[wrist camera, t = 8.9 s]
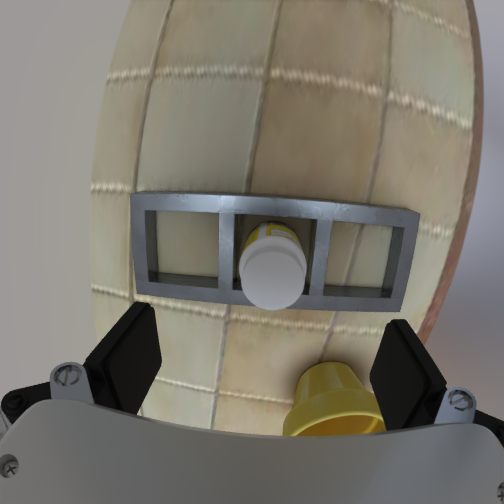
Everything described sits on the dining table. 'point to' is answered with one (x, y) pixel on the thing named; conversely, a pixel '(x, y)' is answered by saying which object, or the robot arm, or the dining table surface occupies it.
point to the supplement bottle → (272, 266)
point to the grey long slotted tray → (273, 205)
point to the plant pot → (332, 404)
